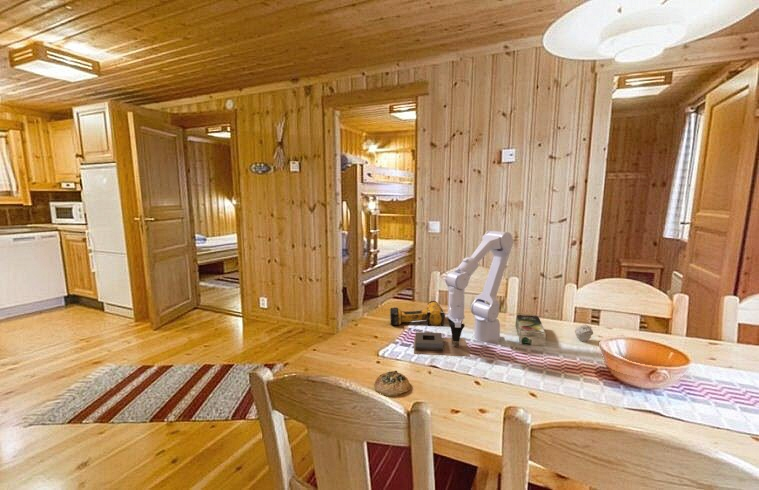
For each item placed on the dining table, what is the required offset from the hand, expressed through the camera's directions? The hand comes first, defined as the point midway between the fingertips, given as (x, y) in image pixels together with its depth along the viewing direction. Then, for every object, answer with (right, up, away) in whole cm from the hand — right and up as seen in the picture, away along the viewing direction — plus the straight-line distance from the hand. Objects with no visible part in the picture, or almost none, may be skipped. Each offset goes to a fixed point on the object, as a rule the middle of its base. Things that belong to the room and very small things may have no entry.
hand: (455, 338), depth 133 cm
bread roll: (-25, -8, -26) cm, 37 cm away
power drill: (-11, 0, +35) cm, 37 cm away
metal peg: (0, -2, 0) cm, 2 cm away
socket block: (-10, -4, +2) cm, 11 cm away
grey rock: (+52, -3, +7) cm, 52 cm away
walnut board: (-6, -4, +1) cm, 7 cm away
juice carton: (+33, -3, +13) cm, 36 cm away
